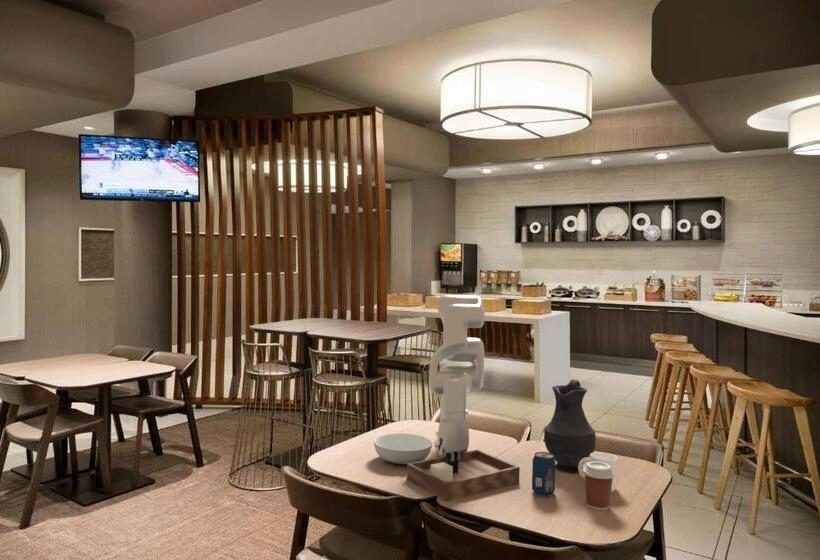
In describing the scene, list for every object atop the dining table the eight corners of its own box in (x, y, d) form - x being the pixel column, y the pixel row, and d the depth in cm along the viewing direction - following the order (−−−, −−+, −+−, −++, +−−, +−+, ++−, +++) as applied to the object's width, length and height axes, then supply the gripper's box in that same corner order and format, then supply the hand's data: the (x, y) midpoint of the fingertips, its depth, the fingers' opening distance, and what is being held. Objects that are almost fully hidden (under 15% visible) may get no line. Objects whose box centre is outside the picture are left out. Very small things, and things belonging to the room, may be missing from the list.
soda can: (538, 487, 183) (539, 449, 183) (558, 493, 179) (559, 454, 178) (527, 493, 178) (528, 454, 177) (548, 499, 173) (549, 460, 173)
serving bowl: (408, 474, 192) (408, 454, 192) (361, 461, 205) (362, 441, 205) (443, 459, 209) (443, 440, 208) (397, 447, 221) (398, 429, 221)
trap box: (477, 463, 204) (477, 449, 204) (519, 482, 187) (519, 467, 187) (406, 478, 188) (407, 463, 188) (445, 501, 170) (445, 484, 170)
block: (430, 477, 183) (430, 464, 183) (443, 474, 186) (443, 462, 186) (439, 482, 179) (440, 469, 179) (452, 479, 182) (452, 466, 182)
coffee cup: (607, 499, 174) (608, 460, 174) (619, 512, 165) (620, 470, 165) (577, 499, 174) (578, 459, 174) (587, 512, 165) (588, 470, 165)
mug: (574, 486, 184) (574, 454, 184) (581, 479, 191) (582, 448, 191) (612, 495, 178) (613, 462, 178) (619, 487, 185) (619, 455, 184)
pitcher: (537, 471, 197) (539, 384, 197) (552, 455, 216) (554, 375, 215) (589, 481, 189) (592, 390, 189) (600, 463, 208) (602, 380, 207)
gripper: (464, 410, 192) (463, 464, 192) (428, 415, 184) (427, 472, 184) (479, 415, 186) (478, 471, 186) (442, 421, 177) (441, 480, 178)
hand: (453, 471), depth 185 cm, fingers closed
